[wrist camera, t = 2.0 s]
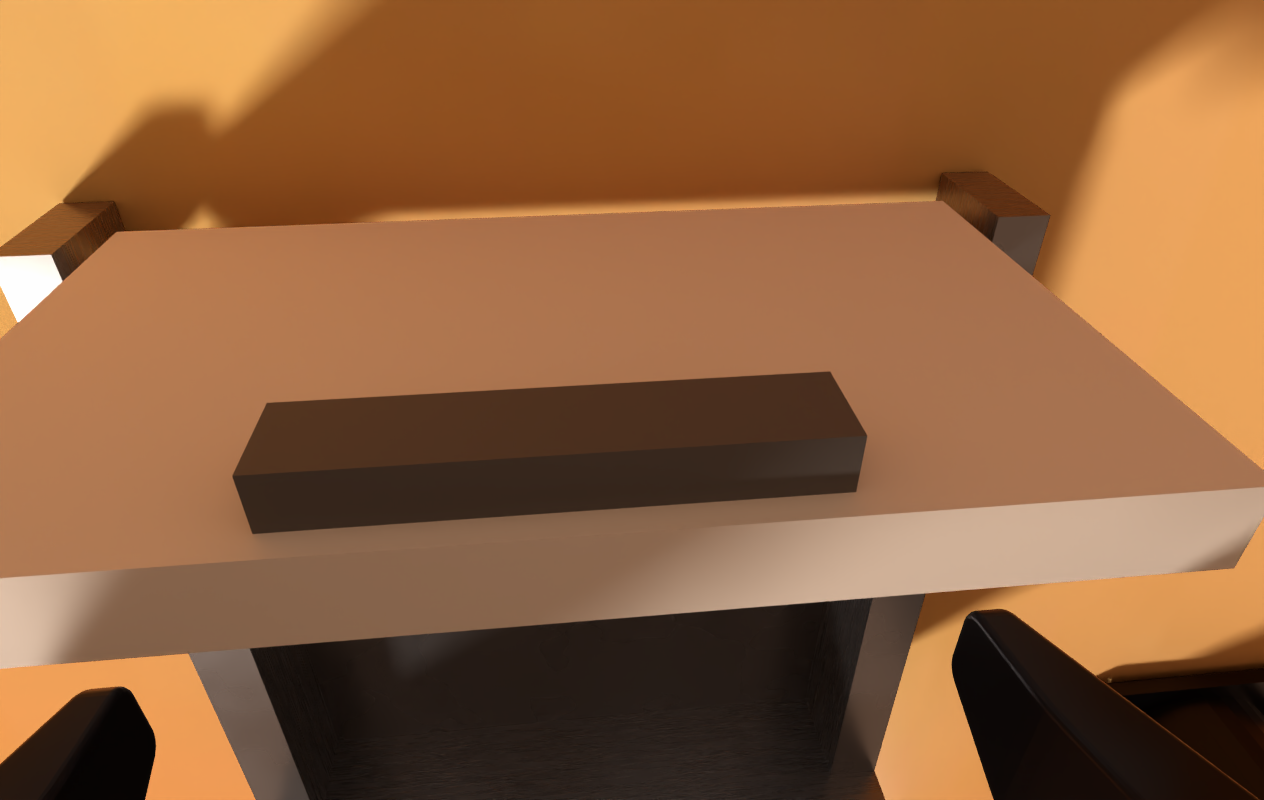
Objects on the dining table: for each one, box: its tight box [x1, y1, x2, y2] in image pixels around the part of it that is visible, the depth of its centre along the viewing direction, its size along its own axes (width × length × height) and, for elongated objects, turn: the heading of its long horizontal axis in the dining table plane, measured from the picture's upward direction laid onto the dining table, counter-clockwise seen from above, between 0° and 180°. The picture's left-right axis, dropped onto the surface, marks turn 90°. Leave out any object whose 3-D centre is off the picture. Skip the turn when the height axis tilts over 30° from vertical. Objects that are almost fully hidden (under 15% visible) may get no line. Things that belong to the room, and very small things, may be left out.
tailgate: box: [0, 201, 1264, 669], centre depth 10 cm, size 2×12×7 cm, turn 90°
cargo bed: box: [0, 172, 1050, 800], centre depth 14 cm, size 14×15×7 cm
